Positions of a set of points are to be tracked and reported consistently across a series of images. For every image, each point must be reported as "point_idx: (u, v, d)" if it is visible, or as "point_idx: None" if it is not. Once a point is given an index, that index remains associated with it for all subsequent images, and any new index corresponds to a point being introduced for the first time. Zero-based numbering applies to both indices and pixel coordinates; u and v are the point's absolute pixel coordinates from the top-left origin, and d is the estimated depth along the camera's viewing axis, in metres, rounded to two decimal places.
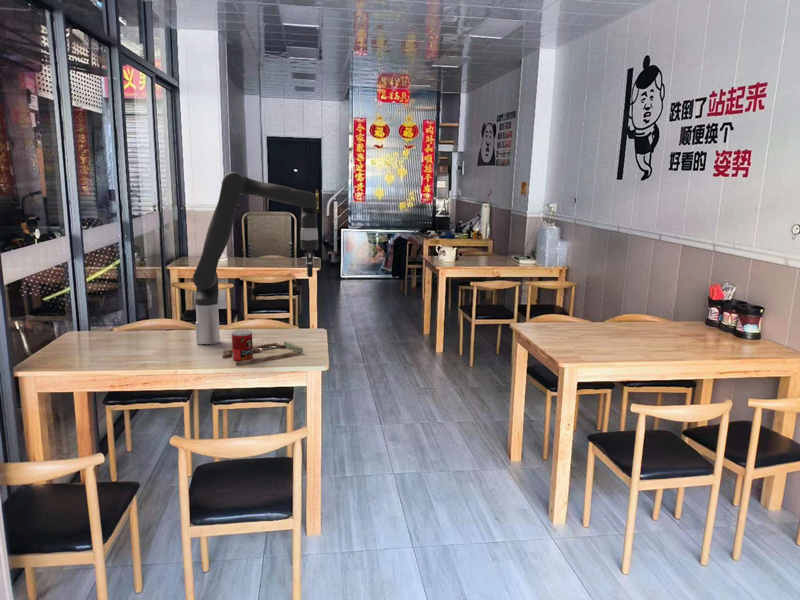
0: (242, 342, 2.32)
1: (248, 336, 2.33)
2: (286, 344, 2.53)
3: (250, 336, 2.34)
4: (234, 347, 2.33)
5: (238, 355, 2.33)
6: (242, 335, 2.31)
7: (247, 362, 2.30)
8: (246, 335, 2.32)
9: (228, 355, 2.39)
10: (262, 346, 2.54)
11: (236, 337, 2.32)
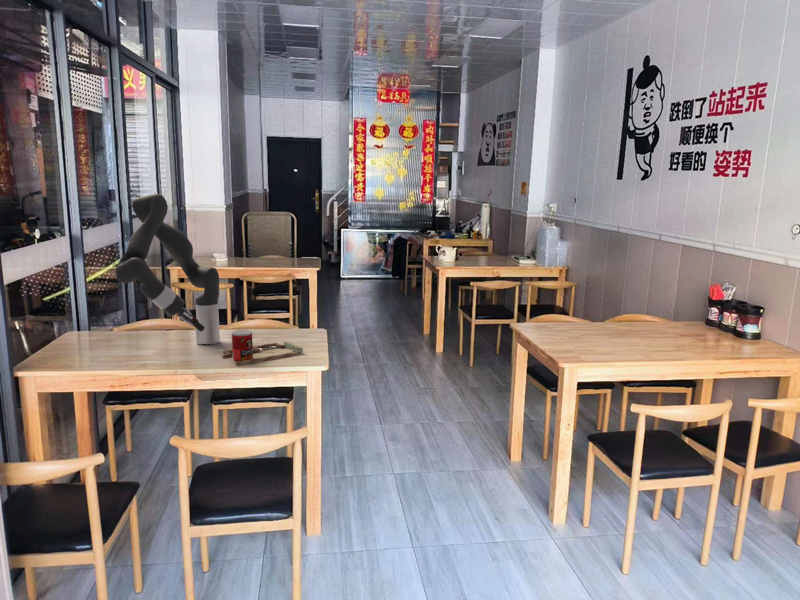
0: (242, 342, 2.32)
1: (248, 336, 2.33)
2: (286, 344, 2.53)
3: (250, 336, 2.34)
4: (234, 347, 2.33)
5: (238, 355, 2.33)
6: (242, 335, 2.31)
7: (247, 362, 2.30)
8: (246, 335, 2.32)
9: (228, 355, 2.39)
10: (262, 346, 2.54)
11: (236, 337, 2.32)
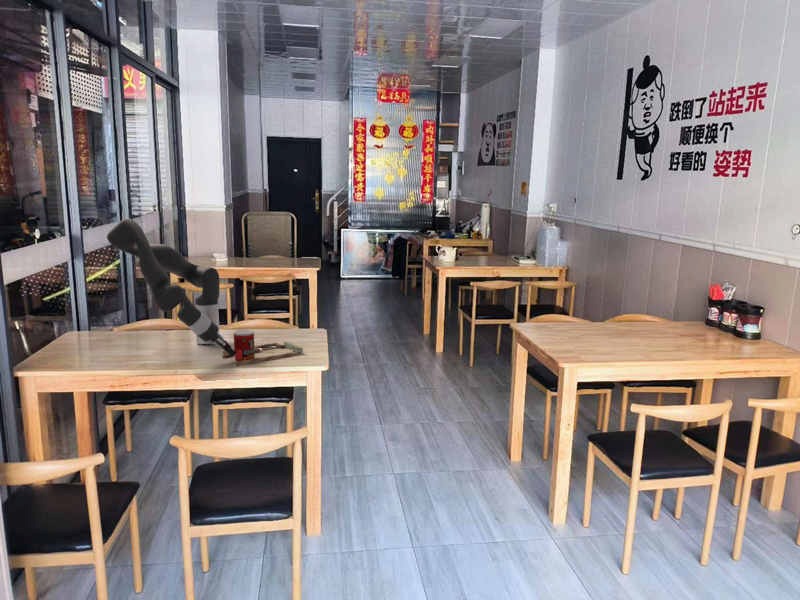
0: (244, 341, 2.32)
1: (250, 336, 2.33)
2: (286, 344, 2.53)
3: (252, 336, 2.34)
4: (236, 347, 2.33)
5: (240, 355, 2.33)
6: (244, 335, 2.32)
7: (247, 362, 2.30)
8: (248, 335, 2.32)
9: (228, 355, 2.39)
10: (262, 346, 2.54)
11: (238, 337, 2.32)
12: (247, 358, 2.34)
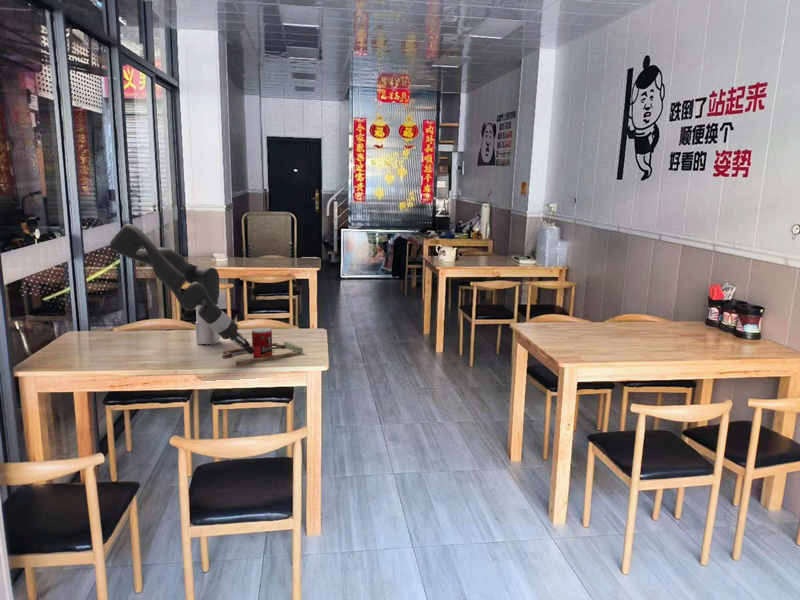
0: (263, 339, 2.36)
1: (268, 333, 2.38)
2: (286, 344, 2.53)
3: (270, 333, 2.39)
4: (254, 344, 2.38)
5: (258, 352, 2.37)
6: (262, 332, 2.36)
7: (247, 362, 2.30)
8: (266, 332, 2.37)
9: (228, 355, 2.39)
10: None
11: (256, 334, 2.36)
12: (265, 355, 2.38)
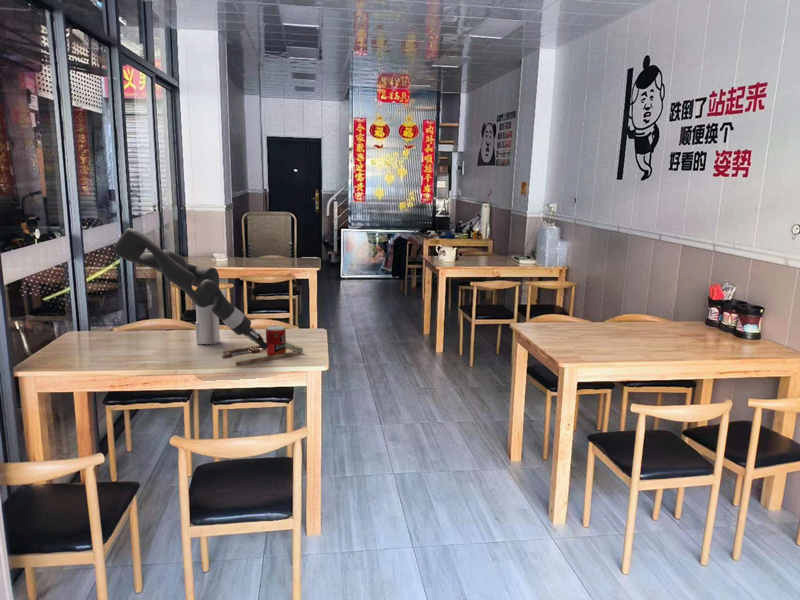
0: (276, 336, 2.40)
1: (282, 331, 2.41)
2: (286, 344, 2.53)
3: (284, 331, 2.42)
4: (268, 342, 2.41)
5: (272, 350, 2.41)
6: (276, 330, 2.40)
7: (247, 362, 2.30)
8: (280, 330, 2.40)
9: (228, 355, 2.39)
10: None
11: (270, 332, 2.40)
12: (279, 353, 2.42)
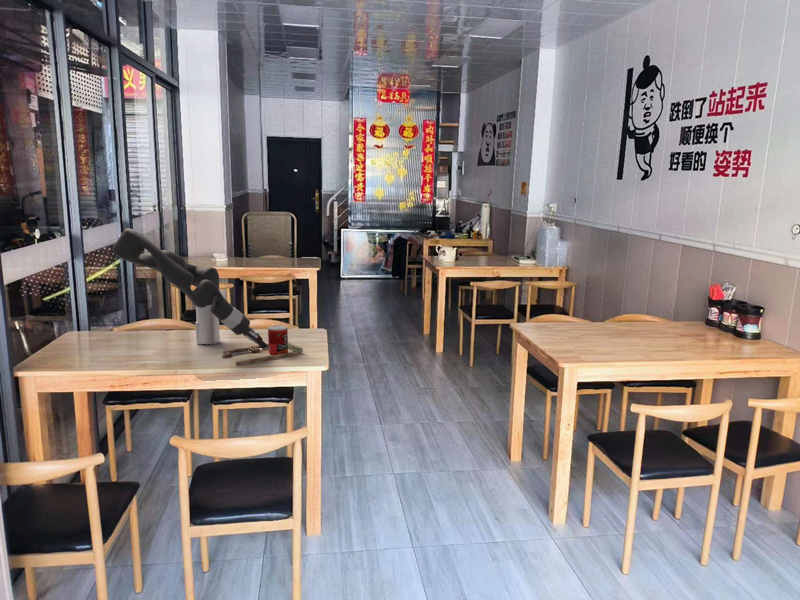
0: (279, 336, 2.41)
1: (284, 331, 2.42)
2: None
3: (286, 331, 2.43)
4: (270, 341, 2.42)
5: (274, 349, 2.42)
6: (278, 330, 2.40)
7: (247, 362, 2.30)
8: (282, 330, 2.41)
9: (228, 355, 2.39)
10: None
11: (273, 332, 2.40)
12: (281, 352, 2.42)
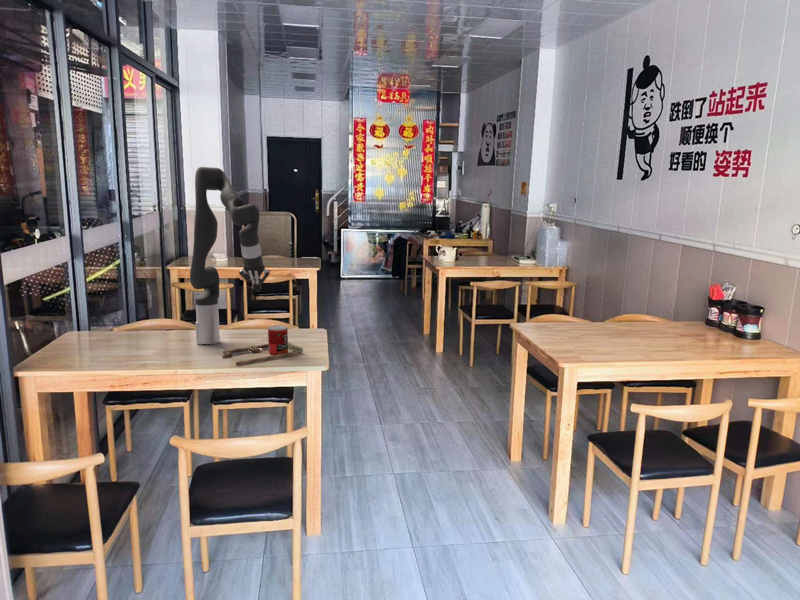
0: (279, 336, 2.41)
1: (284, 331, 2.42)
2: None
3: (286, 331, 2.43)
4: (270, 341, 2.42)
5: (274, 349, 2.42)
6: (278, 330, 2.40)
7: (247, 362, 2.30)
8: (282, 330, 2.41)
9: (228, 355, 2.39)
10: (262, 346, 2.54)
11: (273, 332, 2.40)
12: (281, 352, 2.42)
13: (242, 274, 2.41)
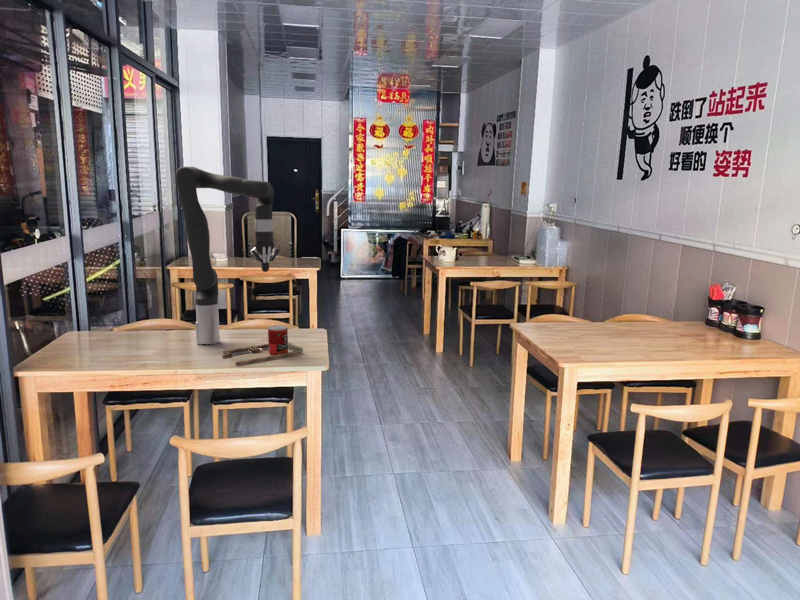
0: (279, 336, 2.41)
1: (284, 331, 2.42)
2: None
3: (286, 331, 2.43)
4: (270, 341, 2.42)
5: (274, 349, 2.42)
6: (278, 330, 2.40)
7: (247, 362, 2.30)
8: (282, 330, 2.41)
9: (228, 355, 2.39)
10: (262, 346, 2.54)
11: (273, 332, 2.40)
12: (281, 352, 2.42)
13: (255, 252, 2.47)
